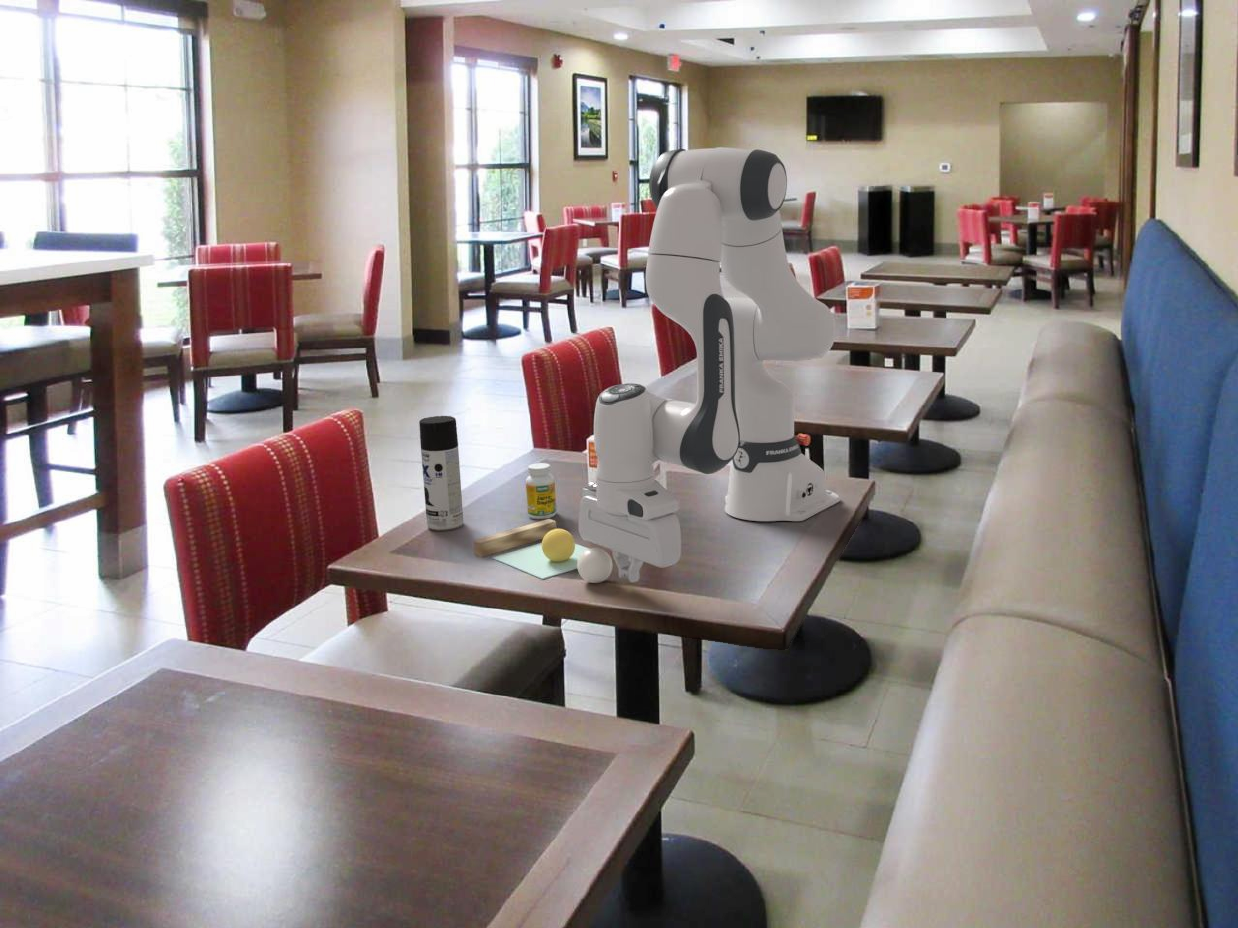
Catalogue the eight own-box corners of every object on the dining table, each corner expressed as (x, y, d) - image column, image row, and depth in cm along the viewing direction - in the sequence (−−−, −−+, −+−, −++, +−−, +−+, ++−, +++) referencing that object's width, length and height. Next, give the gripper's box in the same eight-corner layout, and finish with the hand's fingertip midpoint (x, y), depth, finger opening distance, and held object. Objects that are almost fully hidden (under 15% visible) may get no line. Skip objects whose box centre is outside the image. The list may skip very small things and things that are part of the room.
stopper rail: (549, 532, 207) (549, 518, 206) (556, 534, 205) (555, 521, 205) (474, 554, 197) (473, 540, 196) (480, 557, 196) (479, 543, 195)
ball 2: (616, 546, 180) (621, 572, 184) (588, 536, 183) (593, 562, 187) (596, 568, 177) (601, 594, 180) (567, 557, 180) (573, 583, 183)
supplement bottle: (547, 509, 220) (544, 460, 218) (562, 515, 216) (559, 466, 213) (522, 514, 217) (519, 465, 215) (536, 521, 213) (533, 471, 211)
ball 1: (585, 544, 190) (574, 564, 194) (569, 518, 193) (558, 538, 196) (558, 552, 187) (547, 572, 191) (542, 526, 189) (531, 546, 193)
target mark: (559, 538, 203) (558, 537, 203) (610, 557, 193) (610, 556, 193) (492, 558, 195) (492, 557, 195) (542, 579, 184) (542, 578, 184)
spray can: (423, 523, 215) (414, 417, 209) (458, 517, 217) (450, 413, 212) (432, 533, 209) (423, 425, 203) (468, 527, 211) (460, 420, 206)
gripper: (566, 484, 181) (571, 567, 184) (654, 511, 165) (657, 602, 169) (598, 475, 185) (602, 558, 188) (687, 502, 169) (689, 590, 173)
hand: (629, 579), depth 179 cm, fingers closed
